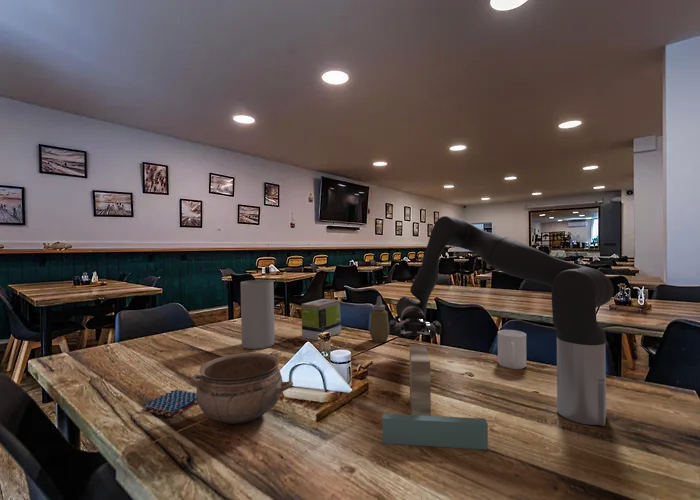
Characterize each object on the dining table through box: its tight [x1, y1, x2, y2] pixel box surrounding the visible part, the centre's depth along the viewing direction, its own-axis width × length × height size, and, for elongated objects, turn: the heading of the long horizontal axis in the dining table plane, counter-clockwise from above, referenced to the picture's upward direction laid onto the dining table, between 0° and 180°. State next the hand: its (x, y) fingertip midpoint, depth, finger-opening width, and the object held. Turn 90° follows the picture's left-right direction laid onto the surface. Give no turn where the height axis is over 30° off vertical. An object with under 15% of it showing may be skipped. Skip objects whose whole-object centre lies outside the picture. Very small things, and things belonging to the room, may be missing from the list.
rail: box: [381, 413, 489, 451], centre depth 70 cm, size 20×2×5 cm, turn 82°
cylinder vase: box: [240, 279, 276, 350], centre depth 139 cm, size 12×12×25 cm
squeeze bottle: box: [369, 295, 390, 343], centre depth 142 cm, size 8×8×18 cm
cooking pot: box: [190, 352, 294, 426], centre depth 81 cm, size 25×19×12 cm
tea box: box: [300, 298, 342, 341], centre depth 152 cm, size 15×10×15 cm, turn 144°
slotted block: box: [408, 344, 432, 416], centre depth 82 cm, size 12×4×14 cm, turn 172°
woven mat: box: [142, 389, 198, 418], centre depth 88 cm, size 10×11×2 cm
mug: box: [497, 329, 527, 370], centre depth 111 cm, size 12×8×10 cm
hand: (415, 334), depth 93 cm, fingers open, 8 cm apart
